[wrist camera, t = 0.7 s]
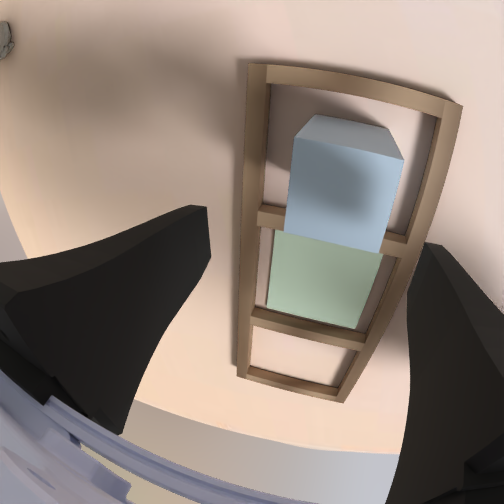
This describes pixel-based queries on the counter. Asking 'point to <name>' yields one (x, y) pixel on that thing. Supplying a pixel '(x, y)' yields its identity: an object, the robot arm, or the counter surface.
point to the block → (342, 182)
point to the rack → (325, 253)
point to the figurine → (5, 40)
